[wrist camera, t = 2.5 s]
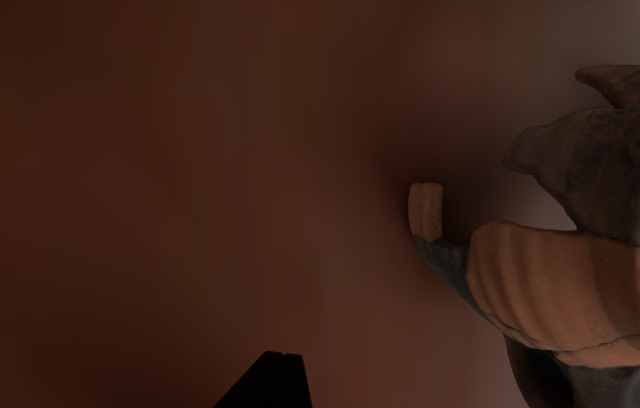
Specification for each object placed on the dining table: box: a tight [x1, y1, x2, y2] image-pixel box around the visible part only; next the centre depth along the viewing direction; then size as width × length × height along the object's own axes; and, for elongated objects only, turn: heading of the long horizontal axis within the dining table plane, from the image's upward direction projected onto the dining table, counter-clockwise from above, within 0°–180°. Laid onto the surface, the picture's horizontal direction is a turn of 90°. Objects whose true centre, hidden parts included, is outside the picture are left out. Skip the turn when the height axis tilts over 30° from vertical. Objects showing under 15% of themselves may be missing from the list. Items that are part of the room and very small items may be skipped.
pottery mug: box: [408, 65, 640, 408], centre depth 12 cm, size 12×10×8 cm
